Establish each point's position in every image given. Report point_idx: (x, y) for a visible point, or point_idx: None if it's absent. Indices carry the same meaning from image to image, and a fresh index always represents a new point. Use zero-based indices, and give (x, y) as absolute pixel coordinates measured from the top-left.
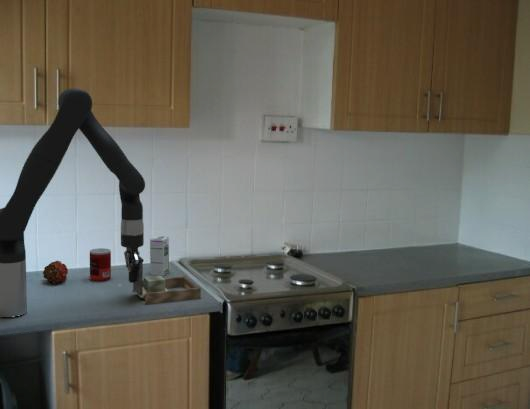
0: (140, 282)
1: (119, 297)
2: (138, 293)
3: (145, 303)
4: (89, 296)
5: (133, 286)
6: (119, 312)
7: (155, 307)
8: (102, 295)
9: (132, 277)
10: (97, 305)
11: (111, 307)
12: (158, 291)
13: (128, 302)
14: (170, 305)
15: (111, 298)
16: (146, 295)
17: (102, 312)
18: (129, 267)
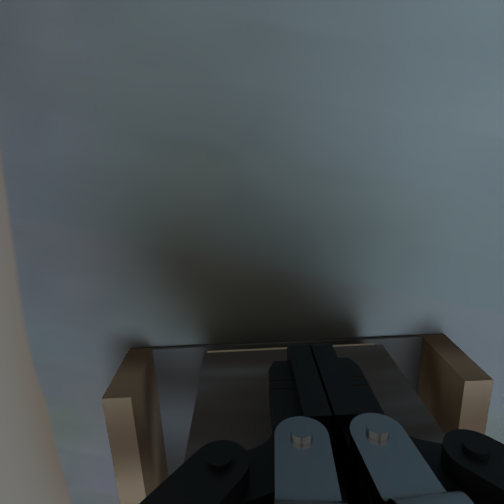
0: (190, 430)
1: (366, 226)
2: (235, 353)
3: (141, 353)
4: (488, 3)
5: (386, 355)
6: (24, 159)
7: (86, 390)
8: (466, 115)
9: (271, 399)
10: (229, 26)
11: (152, 125)
12: None
13: (233, 261)
14: (105, 468)
15: (365, 167)
16: (105, 393)
17: (45, 33)
18: (308, 473)
